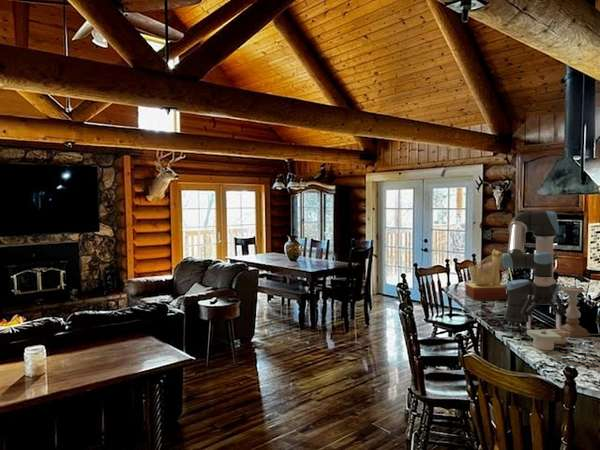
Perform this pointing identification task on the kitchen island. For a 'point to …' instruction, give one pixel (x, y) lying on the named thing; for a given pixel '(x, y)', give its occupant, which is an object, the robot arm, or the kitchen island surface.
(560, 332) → the block
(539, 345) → the bowl
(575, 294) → the candle holder
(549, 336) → the lid
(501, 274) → the decorative skull
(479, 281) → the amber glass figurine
